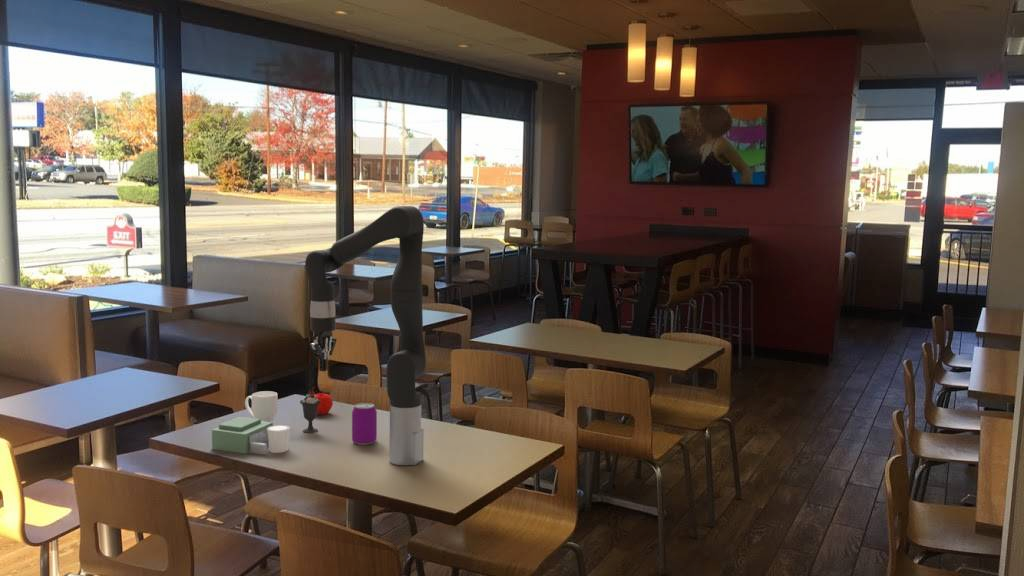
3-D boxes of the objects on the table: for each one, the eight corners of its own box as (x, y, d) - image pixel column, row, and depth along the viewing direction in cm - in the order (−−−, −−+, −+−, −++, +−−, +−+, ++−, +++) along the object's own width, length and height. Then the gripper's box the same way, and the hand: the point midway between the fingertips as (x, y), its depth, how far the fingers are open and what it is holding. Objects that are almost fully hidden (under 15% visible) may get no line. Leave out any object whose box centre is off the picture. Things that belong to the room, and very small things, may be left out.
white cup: (278, 454, 250) (278, 432, 249) (262, 450, 253) (262, 428, 252) (295, 448, 256) (295, 426, 255) (278, 445, 259) (278, 423, 258)
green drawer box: (272, 440, 263) (272, 418, 262) (245, 453, 250) (245, 430, 249) (240, 436, 267) (240, 414, 266) (212, 448, 254) (211, 425, 253)
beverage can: (367, 437, 270) (367, 400, 268) (381, 442, 264) (381, 405, 263) (347, 441, 264) (347, 404, 263) (361, 447, 259) (361, 409, 258)
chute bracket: (286, 444, 260) (286, 428, 260) (264, 454, 249) (264, 438, 249) (270, 441, 262) (270, 426, 261) (248, 452, 251) (247, 436, 251)
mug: (283, 425, 280) (282, 392, 279) (266, 432, 272) (266, 398, 271) (254, 421, 285) (254, 388, 283) (237, 427, 277) (237, 393, 276)
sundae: (315, 434, 271) (315, 389, 269) (296, 432, 272) (296, 388, 271) (324, 429, 277) (324, 385, 276) (305, 427, 279) (305, 383, 277)
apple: (306, 415, 293) (306, 395, 292) (315, 410, 301) (315, 390, 300) (327, 417, 292) (327, 396, 291) (336, 411, 299) (336, 391, 299)
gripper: (322, 318, 247) (323, 376, 249) (344, 312, 260) (344, 367, 261) (300, 317, 249) (301, 374, 251) (322, 311, 262) (323, 365, 264)
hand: (323, 370), depth 256 cm, fingers closed
